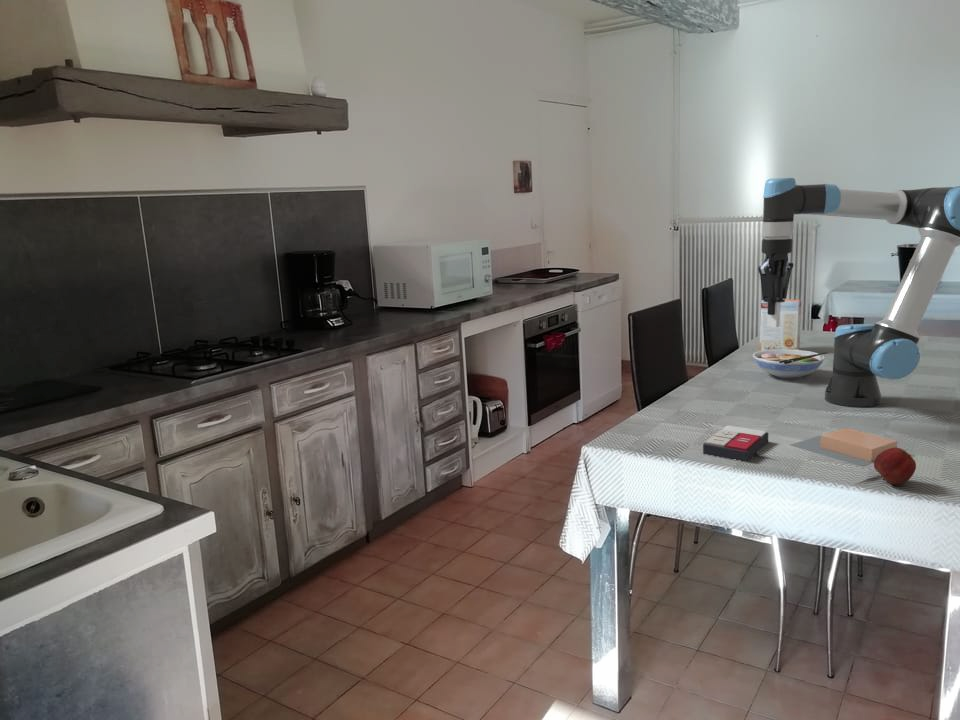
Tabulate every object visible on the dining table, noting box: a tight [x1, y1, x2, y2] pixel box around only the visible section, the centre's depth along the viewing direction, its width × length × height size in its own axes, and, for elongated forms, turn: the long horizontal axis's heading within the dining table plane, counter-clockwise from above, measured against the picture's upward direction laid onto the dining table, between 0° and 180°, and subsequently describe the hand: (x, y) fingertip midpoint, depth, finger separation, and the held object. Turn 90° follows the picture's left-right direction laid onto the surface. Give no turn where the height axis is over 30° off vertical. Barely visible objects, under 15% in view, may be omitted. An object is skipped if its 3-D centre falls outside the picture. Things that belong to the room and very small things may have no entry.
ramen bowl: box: [752, 349, 828, 380], centre depth 257 cm, size 25×23×8 cm
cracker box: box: [758, 299, 803, 351], centre depth 294 cm, size 14×6×21 cm, turn 58°
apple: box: [873, 446, 917, 486], centre depth 162 cm, size 7×8×8 cm
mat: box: [790, 432, 908, 467], centre depth 183 cm, size 18×19×1 cm
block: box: [820, 427, 898, 462], centre depth 181 cm, size 10×3×13 cm
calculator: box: [702, 425, 769, 463], centre depth 187 cm, size 11×4×15 cm
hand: (773, 326), depth 204 cm, fingers closed
